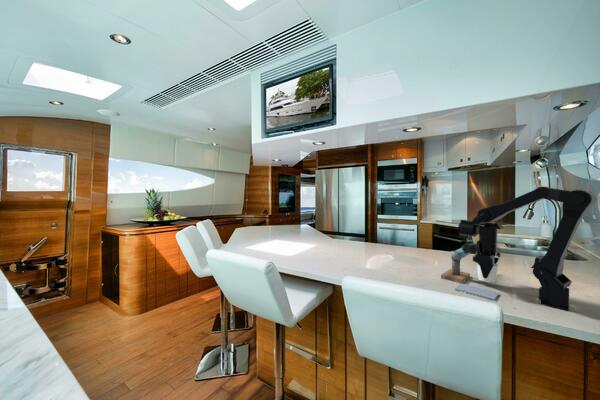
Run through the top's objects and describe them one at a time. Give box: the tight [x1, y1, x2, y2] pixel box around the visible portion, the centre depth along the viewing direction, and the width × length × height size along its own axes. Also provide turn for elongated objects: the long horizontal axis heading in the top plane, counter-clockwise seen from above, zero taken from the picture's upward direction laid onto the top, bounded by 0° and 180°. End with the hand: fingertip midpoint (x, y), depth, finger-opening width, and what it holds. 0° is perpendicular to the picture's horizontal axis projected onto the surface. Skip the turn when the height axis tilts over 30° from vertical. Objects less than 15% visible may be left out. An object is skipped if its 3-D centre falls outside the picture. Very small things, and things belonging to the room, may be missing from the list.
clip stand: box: [440, 259, 471, 284], centre depth 104 cm, size 8×12×8 cm, turn 131°
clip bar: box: [450, 247, 472, 262], centre depth 109 cm, size 20×4×3 cm, turn 130°
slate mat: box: [454, 283, 499, 302], centre depth 89 cm, size 12×8×1 cm, turn 41°
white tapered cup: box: [476, 263, 499, 283], centre depth 96 cm, size 7×7×7 cm
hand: (486, 276), depth 96 cm, fingers closed on white tapered cup, 6 cm apart
